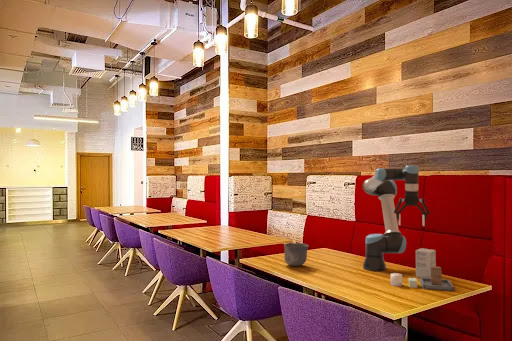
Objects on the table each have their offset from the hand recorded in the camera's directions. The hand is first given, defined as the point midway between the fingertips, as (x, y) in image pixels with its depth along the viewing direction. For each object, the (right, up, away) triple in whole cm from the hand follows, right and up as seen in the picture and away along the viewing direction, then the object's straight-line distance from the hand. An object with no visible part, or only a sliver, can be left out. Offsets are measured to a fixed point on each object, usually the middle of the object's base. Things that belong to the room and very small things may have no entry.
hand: (411, 225), depth 227 cm
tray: (+10, -34, -11) cm, 37 cm away
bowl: (-66, -35, +37) cm, 84 cm away
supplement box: (+13, -34, +9) cm, 37 cm away
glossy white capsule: (-13, -34, -9) cm, 37 cm away
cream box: (-4, -34, -11) cm, 36 cm away
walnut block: (+10, -33, -11) cm, 36 cm away
